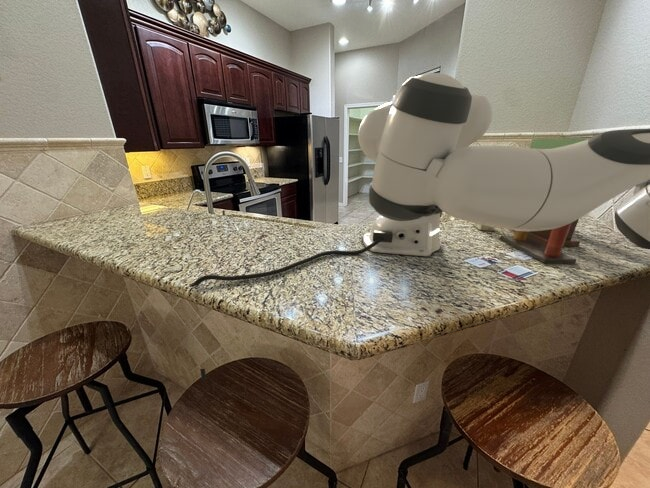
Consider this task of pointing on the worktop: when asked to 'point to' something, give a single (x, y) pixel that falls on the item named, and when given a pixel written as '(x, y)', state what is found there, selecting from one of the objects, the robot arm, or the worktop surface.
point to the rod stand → (542, 245)
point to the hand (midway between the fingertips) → (618, 142)
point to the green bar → (554, 142)
